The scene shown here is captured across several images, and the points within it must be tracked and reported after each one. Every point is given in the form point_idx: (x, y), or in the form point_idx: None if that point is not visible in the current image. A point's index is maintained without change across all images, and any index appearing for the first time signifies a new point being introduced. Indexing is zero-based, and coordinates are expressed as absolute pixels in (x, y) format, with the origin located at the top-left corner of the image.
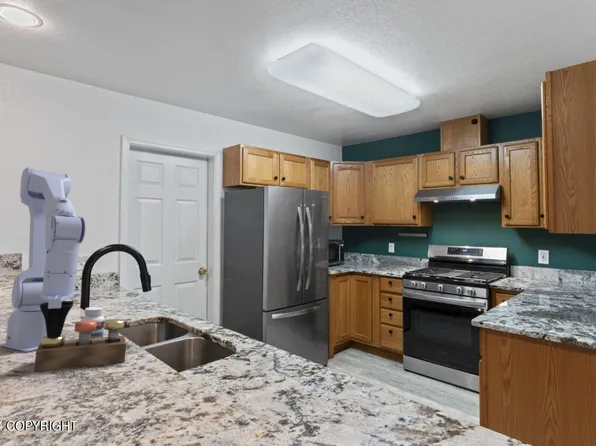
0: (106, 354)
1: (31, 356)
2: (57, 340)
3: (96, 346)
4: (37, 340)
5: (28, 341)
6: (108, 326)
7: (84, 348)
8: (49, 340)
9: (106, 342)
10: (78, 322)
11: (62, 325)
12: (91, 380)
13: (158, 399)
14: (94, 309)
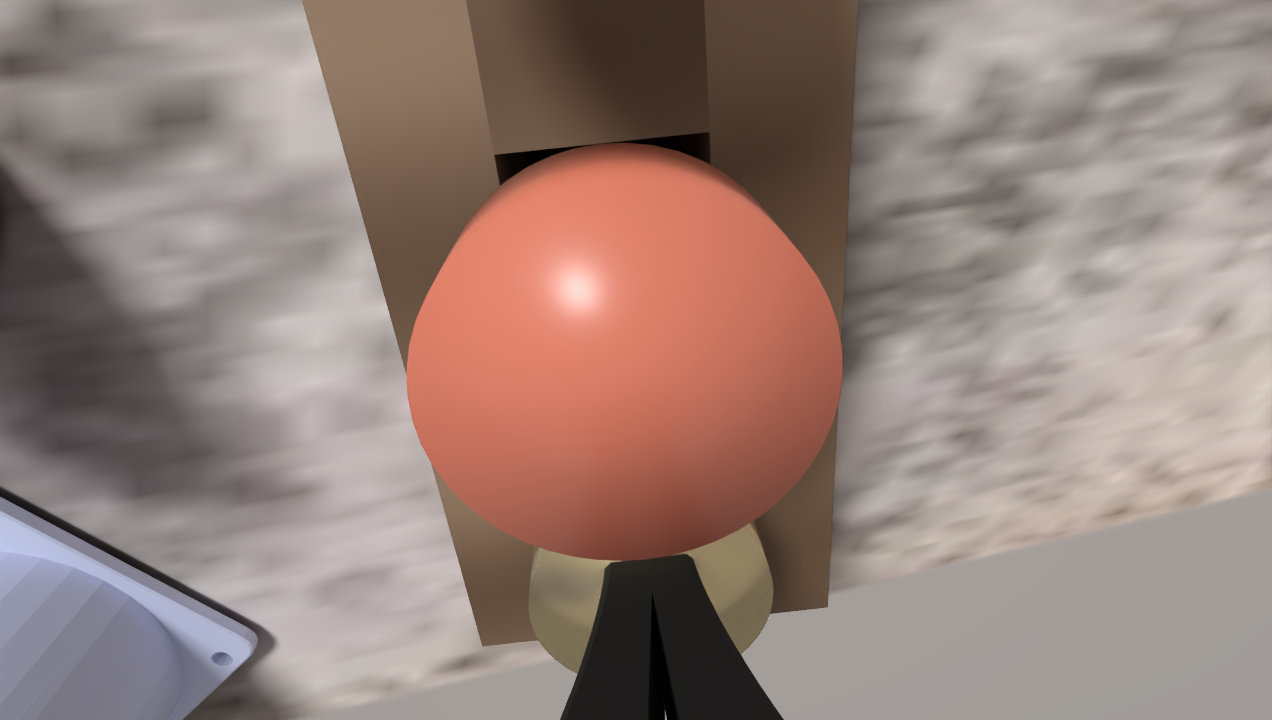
0: None
1: (362, 582)
2: (757, 542)
3: (851, 52)
4: (117, 665)
5: (151, 709)
6: None
7: (846, 206)
8: (769, 608)
9: None
10: (615, 520)
11: (749, 675)
12: (1218, 22)
13: None
14: None
